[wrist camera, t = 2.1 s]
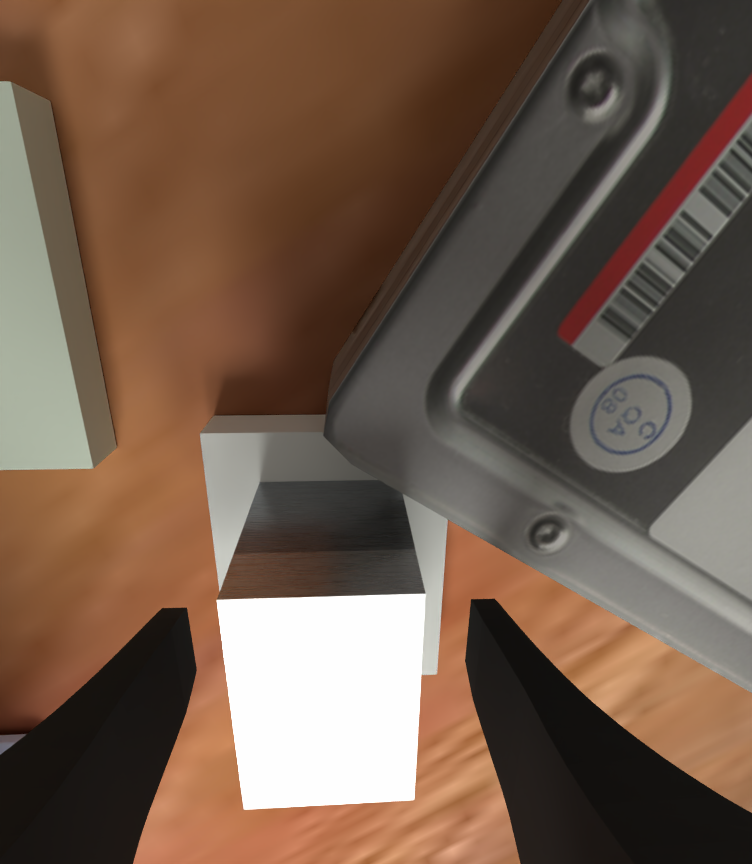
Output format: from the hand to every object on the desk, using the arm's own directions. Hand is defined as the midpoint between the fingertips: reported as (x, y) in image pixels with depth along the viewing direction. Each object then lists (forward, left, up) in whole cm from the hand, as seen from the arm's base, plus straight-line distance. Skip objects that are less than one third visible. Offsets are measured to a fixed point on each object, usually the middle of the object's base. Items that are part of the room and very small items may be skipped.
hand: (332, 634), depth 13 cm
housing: (0, 0, -3) cm, 3 cm away
